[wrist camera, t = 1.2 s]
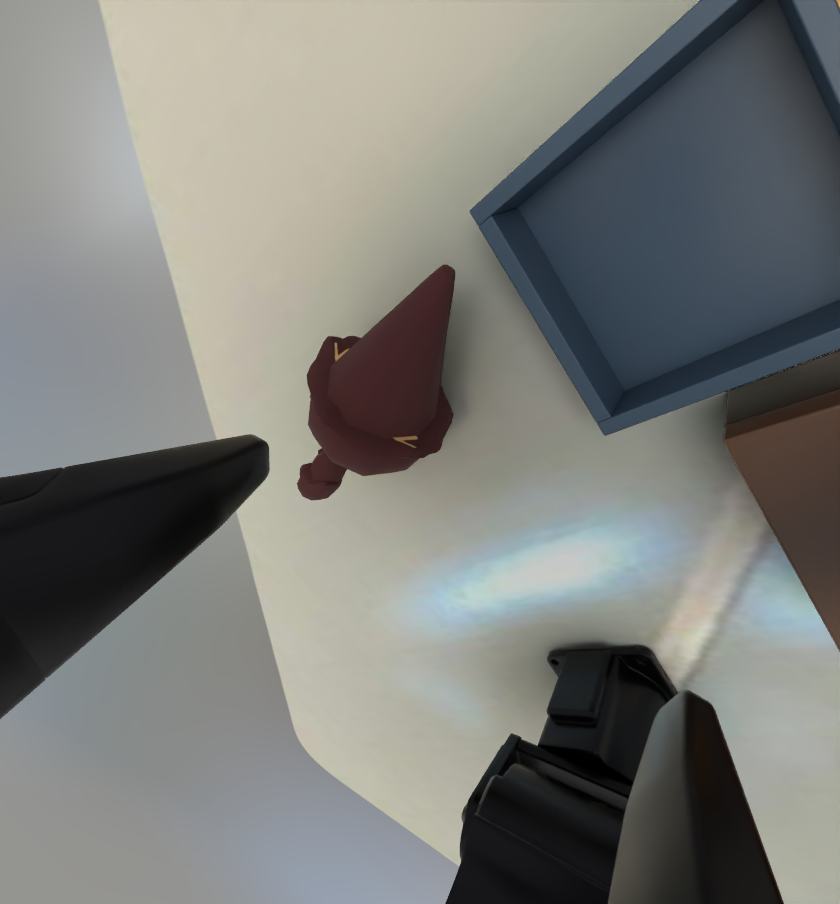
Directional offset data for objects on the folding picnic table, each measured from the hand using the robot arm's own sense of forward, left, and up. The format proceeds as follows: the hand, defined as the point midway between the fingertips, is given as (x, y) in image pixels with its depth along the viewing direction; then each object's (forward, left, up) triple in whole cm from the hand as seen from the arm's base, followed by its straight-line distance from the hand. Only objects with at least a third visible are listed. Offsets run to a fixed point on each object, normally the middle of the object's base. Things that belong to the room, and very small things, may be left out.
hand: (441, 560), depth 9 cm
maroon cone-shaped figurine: (+3, +9, -14) cm, 17 cm away
